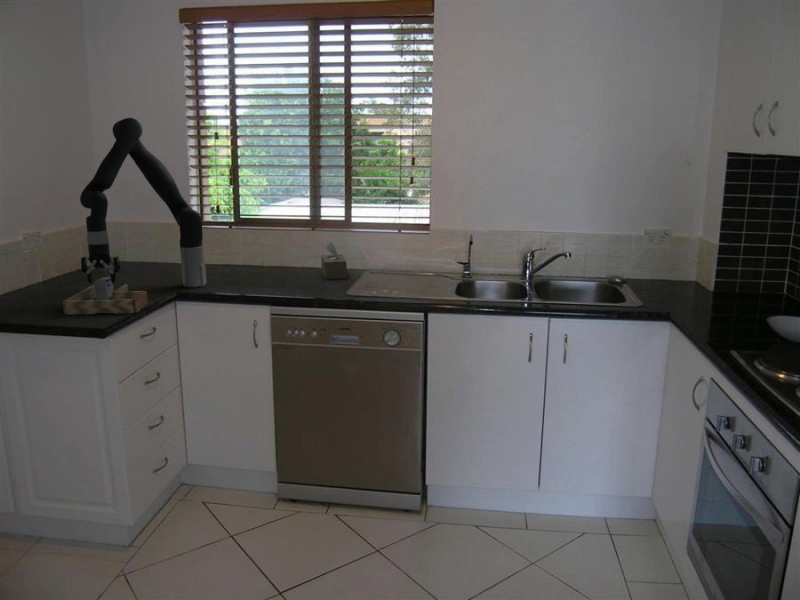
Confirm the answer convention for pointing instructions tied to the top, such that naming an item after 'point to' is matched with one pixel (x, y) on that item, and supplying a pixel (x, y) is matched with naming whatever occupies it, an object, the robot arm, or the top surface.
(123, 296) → the channel
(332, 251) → the tissue box
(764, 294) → the top surface
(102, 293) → the medicine box
